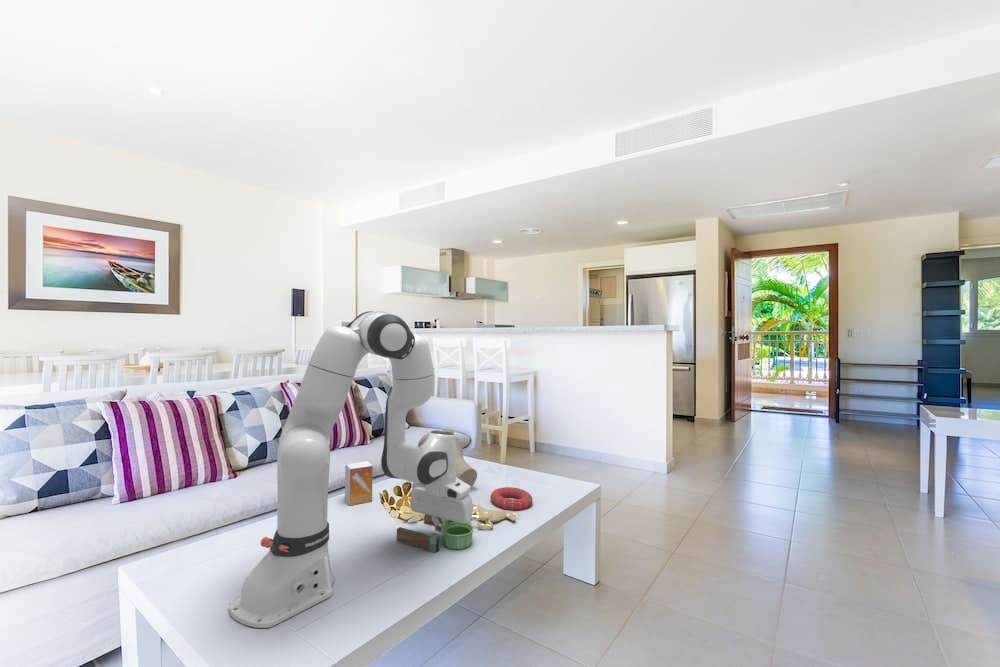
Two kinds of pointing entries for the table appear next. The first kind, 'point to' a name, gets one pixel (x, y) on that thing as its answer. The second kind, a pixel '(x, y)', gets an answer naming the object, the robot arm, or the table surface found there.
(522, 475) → the table surface
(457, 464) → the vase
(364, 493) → the small box
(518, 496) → the torus
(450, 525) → the ramekin
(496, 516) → the unicorn
